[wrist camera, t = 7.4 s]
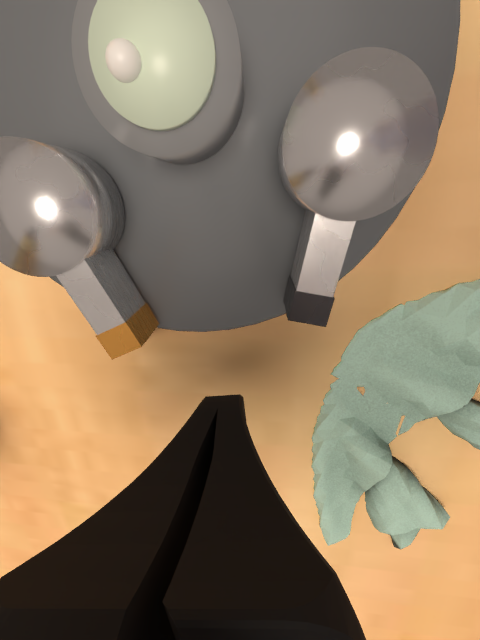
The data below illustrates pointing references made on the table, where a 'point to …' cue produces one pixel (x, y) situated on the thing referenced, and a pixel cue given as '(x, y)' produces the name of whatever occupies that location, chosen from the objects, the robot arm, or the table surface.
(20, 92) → the tribrach plate
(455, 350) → the cloth
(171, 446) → the robot arm
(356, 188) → the knob black
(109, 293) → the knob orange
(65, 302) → the table surface
